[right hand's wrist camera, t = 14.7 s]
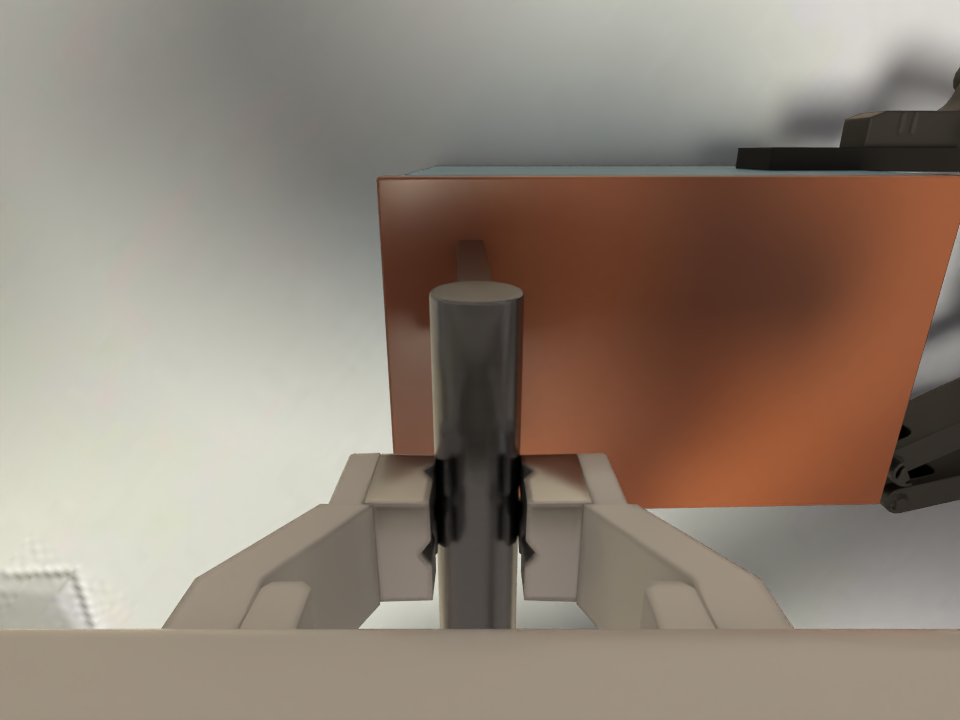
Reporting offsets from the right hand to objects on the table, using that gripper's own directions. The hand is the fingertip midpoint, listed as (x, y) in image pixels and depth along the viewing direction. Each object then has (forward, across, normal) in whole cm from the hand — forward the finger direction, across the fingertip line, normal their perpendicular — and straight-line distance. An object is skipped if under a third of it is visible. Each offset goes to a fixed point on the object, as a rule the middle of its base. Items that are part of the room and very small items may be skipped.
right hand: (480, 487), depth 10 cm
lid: (+7, +5, 0) cm, 9 cm away
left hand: (+13, +10, 0) cm, 16 cm away
